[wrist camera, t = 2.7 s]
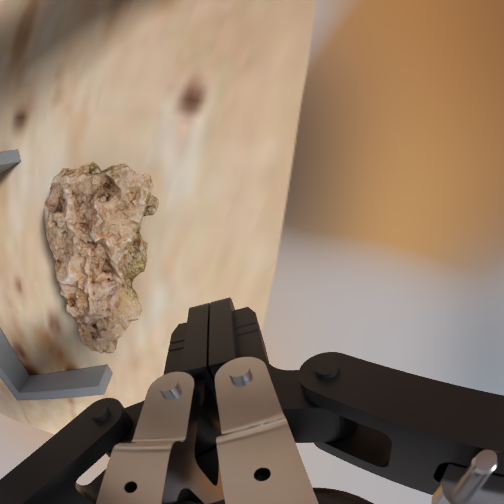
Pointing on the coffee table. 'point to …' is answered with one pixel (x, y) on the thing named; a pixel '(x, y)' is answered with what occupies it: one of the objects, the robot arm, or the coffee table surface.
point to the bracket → (51, 384)
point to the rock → (99, 246)
